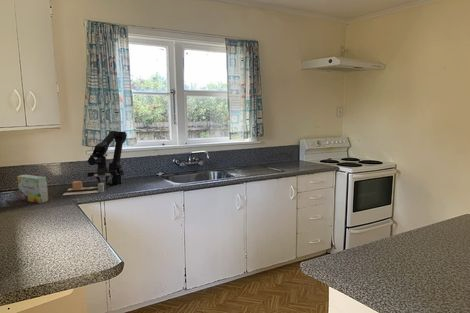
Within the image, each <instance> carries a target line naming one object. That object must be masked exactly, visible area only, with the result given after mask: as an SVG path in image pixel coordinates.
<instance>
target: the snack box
mask: <svg viewBox="0 0 470 313" xmlns="http://www.w3.org/2000/svg"><path fill="white" fill-rule="evenodd" d="M16 177H17V185H18V186H17V187H18V193H19V199H20V200H21V201H26V202H32V203H37V204H45V203H47V202H48V203H49V201H50V200H49V193H48V192H49V191H48V183H47V182H48V181H47V177H46V176H39V175H32V174H21V175H17V176H16Z"/></svg>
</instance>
